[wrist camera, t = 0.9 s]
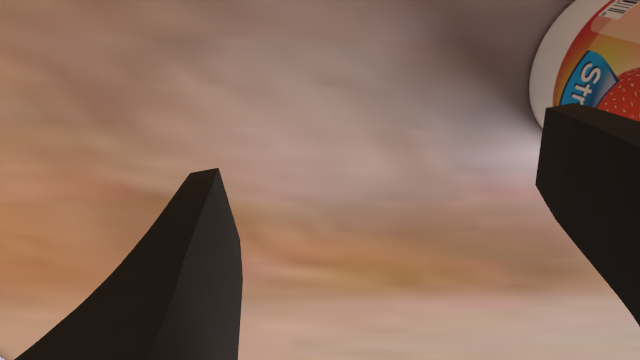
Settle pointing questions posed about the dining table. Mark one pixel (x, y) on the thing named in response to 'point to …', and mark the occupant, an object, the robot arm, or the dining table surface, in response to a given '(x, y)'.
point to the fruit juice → (590, 59)
